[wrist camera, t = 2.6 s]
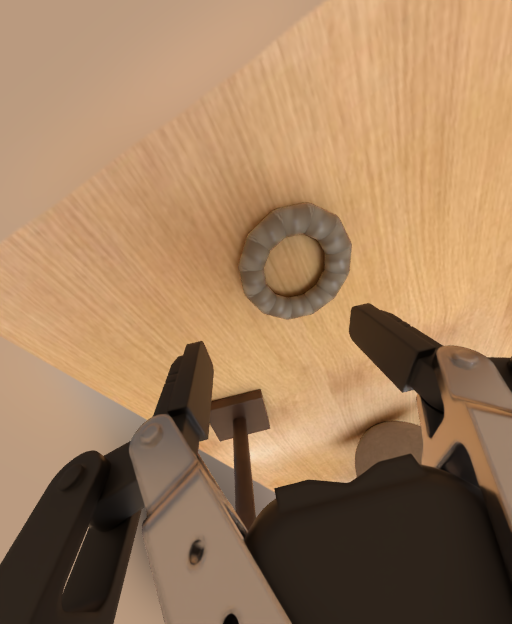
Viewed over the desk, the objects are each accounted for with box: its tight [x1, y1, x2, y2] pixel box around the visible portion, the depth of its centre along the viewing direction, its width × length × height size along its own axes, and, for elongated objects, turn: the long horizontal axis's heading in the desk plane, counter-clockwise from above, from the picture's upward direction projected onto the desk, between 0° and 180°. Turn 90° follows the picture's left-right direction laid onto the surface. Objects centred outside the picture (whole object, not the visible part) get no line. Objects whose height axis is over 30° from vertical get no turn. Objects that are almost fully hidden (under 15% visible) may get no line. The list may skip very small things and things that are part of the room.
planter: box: [355, 421, 423, 477], centre depth 32 cm, size 18×7×19 cm, turn 128°
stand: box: [209, 390, 270, 531], centre depth 25 cm, size 9×9×14 cm
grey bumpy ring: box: [238, 203, 352, 319], centre depth 18 cm, size 11×11×2 cm
